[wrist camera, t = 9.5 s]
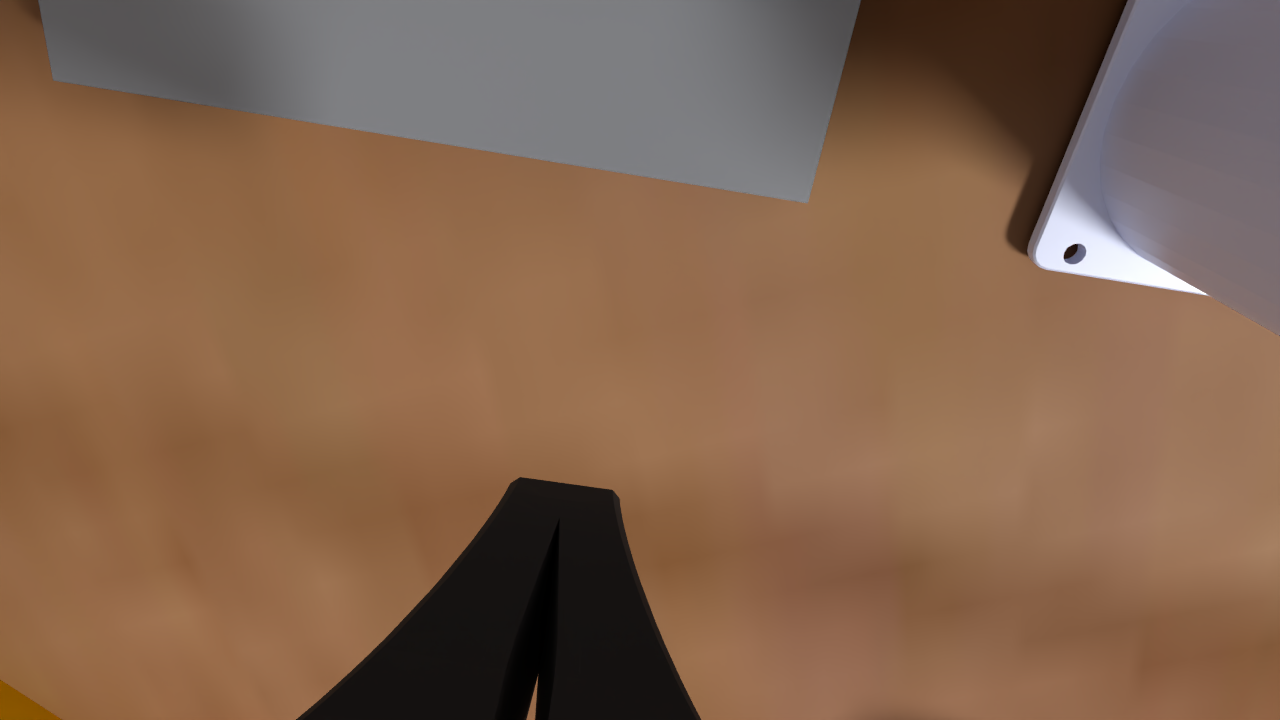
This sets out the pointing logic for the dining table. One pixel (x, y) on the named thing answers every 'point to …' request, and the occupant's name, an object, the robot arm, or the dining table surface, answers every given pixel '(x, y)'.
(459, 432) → the dining table surface
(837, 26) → the box
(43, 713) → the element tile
